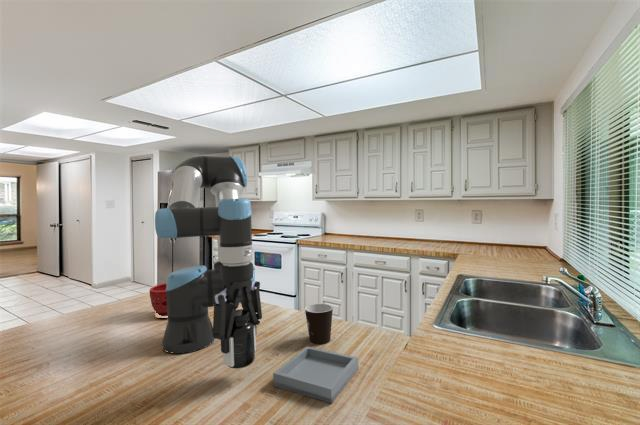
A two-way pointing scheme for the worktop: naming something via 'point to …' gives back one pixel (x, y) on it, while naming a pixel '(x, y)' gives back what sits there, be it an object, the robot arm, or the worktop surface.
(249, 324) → the supplement bottle
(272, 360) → the worktop surface
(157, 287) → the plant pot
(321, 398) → the slate tray
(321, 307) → the coffee mug
